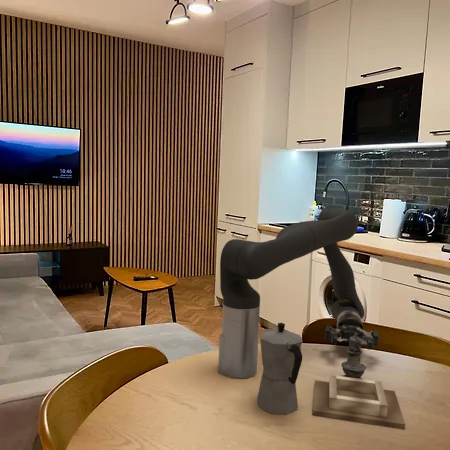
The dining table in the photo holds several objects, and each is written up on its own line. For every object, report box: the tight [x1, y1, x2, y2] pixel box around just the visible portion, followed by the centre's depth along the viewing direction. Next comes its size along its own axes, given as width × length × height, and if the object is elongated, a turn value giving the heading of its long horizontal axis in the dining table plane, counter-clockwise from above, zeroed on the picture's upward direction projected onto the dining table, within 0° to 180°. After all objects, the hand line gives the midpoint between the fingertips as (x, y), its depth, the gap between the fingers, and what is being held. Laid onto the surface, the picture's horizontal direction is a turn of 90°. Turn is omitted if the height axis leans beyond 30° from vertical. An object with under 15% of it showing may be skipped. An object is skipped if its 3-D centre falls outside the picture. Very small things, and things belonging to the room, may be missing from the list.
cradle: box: [312, 374, 406, 430], centre depth 97 cm, size 18×15×4 cm
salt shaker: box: [341, 333, 367, 379], centre depth 110 cm, size 6×6×12 cm
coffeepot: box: [256, 322, 303, 415], centre depth 95 cm, size 15×9×18 cm, turn 19°
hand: (352, 343), depth 117 cm, fingers open, 8 cm apart
